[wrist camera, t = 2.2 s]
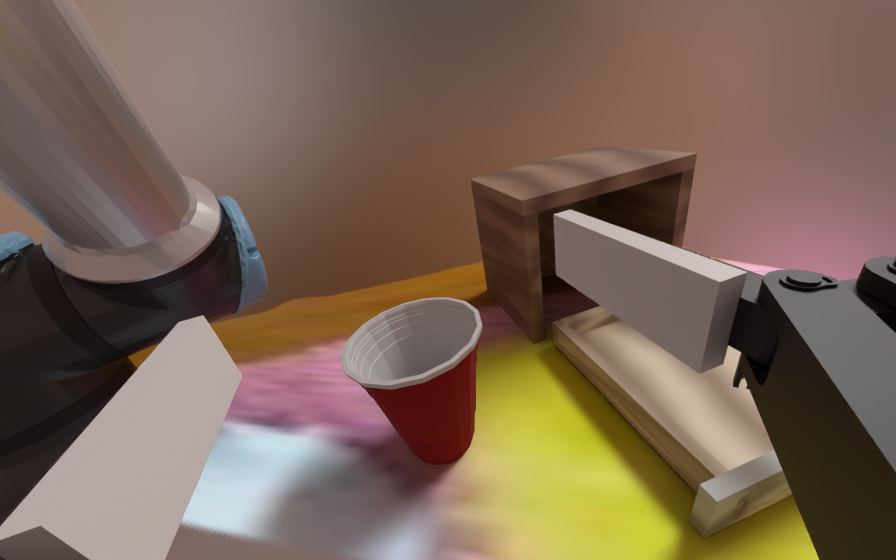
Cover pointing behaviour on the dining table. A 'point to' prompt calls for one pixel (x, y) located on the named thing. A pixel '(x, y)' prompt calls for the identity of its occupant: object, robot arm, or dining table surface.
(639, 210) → the block
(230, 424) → the dining table surface
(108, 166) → the robot arm
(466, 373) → the plastic cup
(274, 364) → the dining table surface
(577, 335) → the tray
